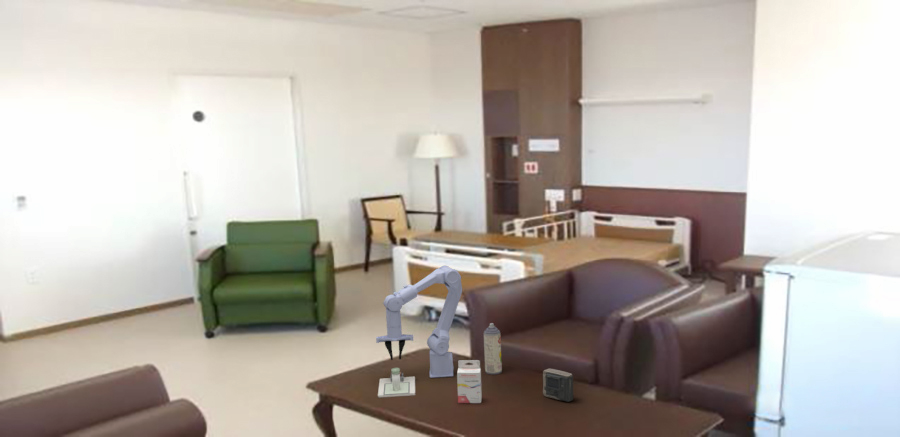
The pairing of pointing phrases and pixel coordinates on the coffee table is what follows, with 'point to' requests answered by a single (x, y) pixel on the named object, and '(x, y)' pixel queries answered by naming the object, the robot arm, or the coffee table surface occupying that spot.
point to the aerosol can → (492, 350)
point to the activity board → (406, 390)
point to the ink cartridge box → (469, 382)
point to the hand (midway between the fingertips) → (396, 358)
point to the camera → (558, 384)
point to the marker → (396, 378)
